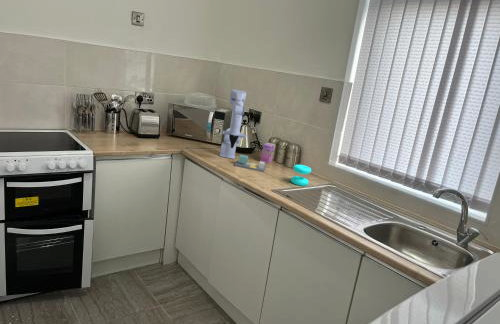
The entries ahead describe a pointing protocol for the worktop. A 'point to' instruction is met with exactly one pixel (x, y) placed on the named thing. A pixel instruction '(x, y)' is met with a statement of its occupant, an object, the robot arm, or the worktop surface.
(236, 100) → the robot arm
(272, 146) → the box
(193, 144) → the worktop surface
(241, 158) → the sleeve
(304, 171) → the donuts
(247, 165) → the board
